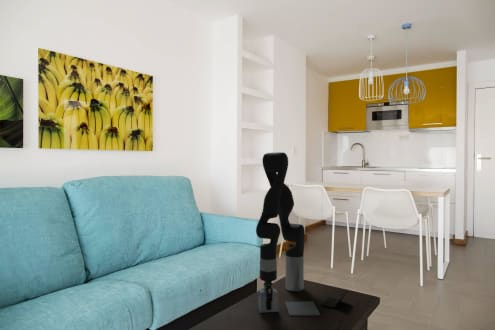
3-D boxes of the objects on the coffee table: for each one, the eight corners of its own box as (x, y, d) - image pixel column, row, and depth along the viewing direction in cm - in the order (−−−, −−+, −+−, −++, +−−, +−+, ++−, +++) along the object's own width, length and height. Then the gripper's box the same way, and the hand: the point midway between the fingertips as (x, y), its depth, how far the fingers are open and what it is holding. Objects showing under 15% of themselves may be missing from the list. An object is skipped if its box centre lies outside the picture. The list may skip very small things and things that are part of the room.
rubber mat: (285, 303, 166) (285, 301, 166) (313, 302, 167) (313, 301, 167) (289, 316, 152) (289, 314, 152) (320, 315, 153) (320, 314, 153)
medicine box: (275, 307, 161) (275, 288, 161) (278, 312, 157) (278, 292, 156) (258, 309, 160) (258, 289, 160) (260, 313, 155) (260, 293, 155)
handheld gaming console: (323, 294, 172) (336, 280, 169) (335, 305, 171) (348, 291, 168) (320, 307, 162) (334, 292, 159) (333, 318, 161) (347, 303, 157)
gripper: (258, 263, 165) (258, 300, 165) (260, 273, 151) (260, 314, 151) (274, 263, 165) (274, 300, 165) (278, 273, 151) (278, 313, 151)
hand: (268, 306), depth 158 cm, fingers closed on medicine box, 4 cm apart
